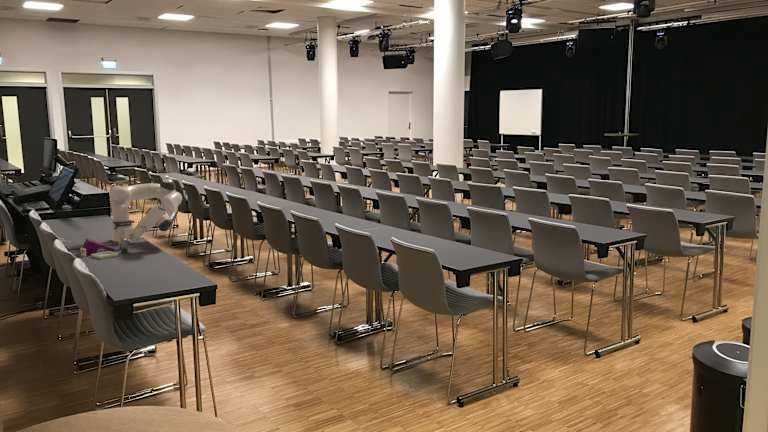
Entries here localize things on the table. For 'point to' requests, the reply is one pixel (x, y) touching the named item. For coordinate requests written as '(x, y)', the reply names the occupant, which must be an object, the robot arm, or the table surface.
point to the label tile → (83, 252)
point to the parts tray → (104, 255)
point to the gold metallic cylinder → (120, 243)
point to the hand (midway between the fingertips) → (130, 240)
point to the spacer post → (123, 245)
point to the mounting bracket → (95, 246)
